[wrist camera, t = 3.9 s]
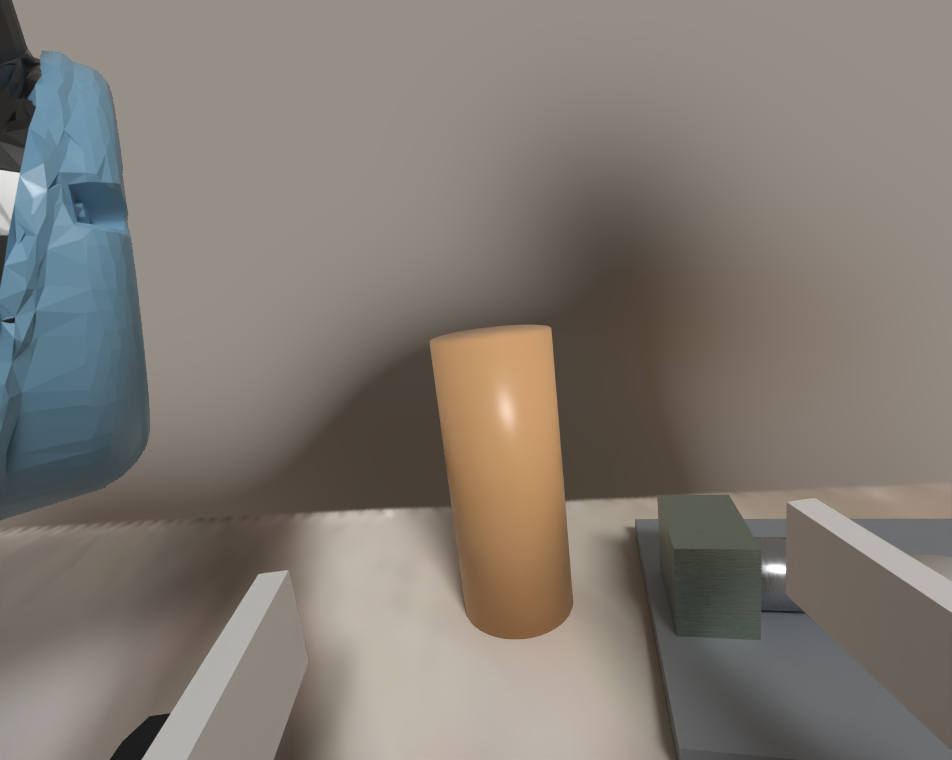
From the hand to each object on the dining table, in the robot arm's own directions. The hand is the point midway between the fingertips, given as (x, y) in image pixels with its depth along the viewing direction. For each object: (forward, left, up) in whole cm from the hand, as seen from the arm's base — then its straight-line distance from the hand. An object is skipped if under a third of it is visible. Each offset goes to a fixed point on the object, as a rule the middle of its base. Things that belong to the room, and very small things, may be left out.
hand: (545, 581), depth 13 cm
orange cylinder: (-3, +10, -8) cm, 12 cm away
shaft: (+8, +9, -7) cm, 13 cm away
